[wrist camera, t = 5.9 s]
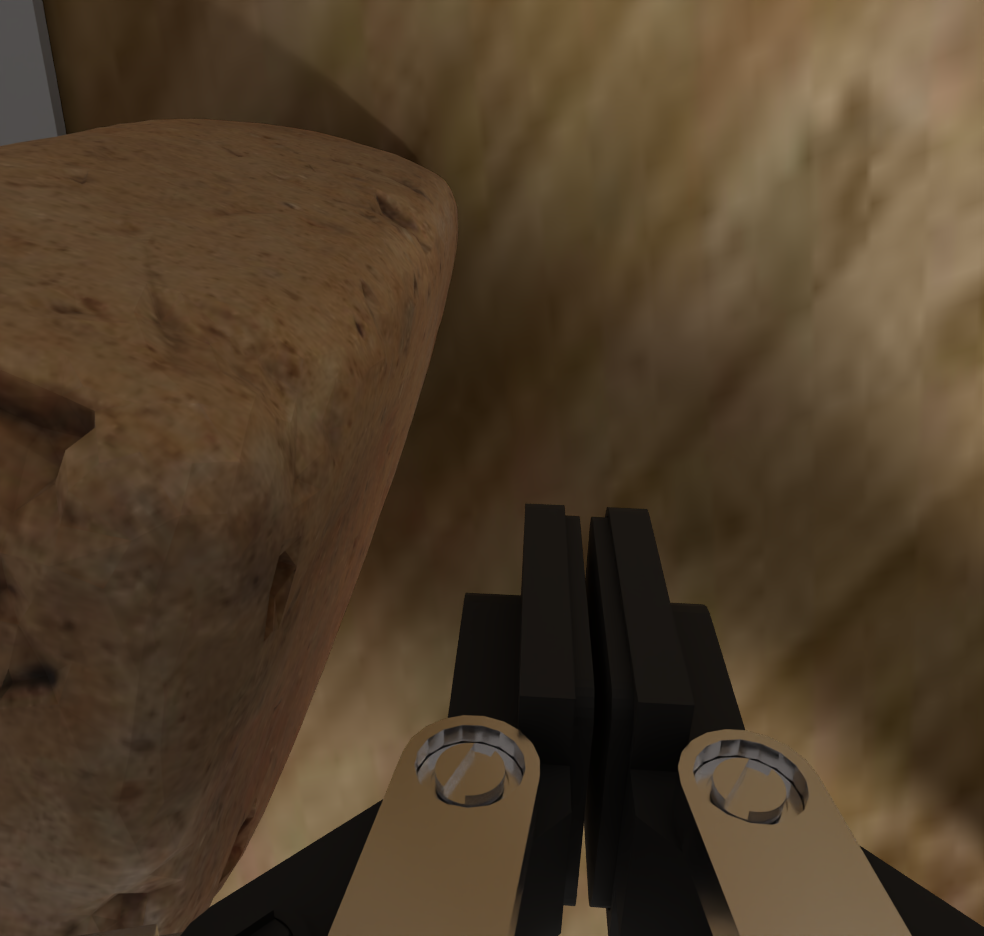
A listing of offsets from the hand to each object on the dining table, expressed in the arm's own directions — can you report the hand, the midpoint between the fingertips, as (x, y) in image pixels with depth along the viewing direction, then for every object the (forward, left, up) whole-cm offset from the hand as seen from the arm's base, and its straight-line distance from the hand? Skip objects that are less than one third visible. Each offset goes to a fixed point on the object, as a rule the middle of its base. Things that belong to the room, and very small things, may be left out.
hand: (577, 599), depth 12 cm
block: (+7, 0, -16) cm, 17 cm away
